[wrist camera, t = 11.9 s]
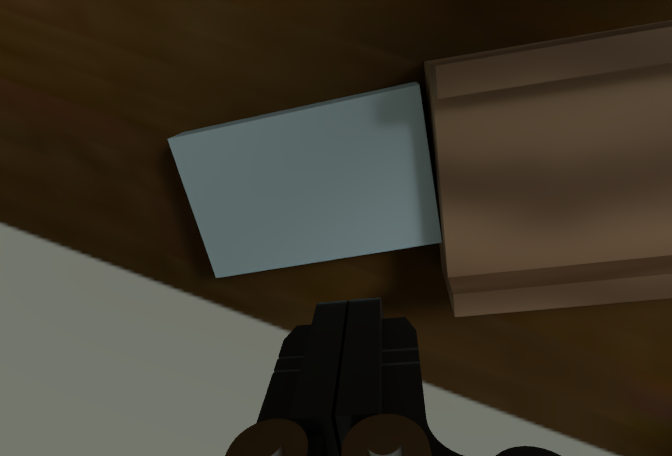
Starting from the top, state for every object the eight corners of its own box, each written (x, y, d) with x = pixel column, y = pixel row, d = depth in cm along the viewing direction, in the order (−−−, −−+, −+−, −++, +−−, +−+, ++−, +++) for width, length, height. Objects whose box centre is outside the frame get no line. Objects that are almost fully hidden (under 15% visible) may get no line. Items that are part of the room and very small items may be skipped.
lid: (187, 130, 24) (167, 139, 21) (415, 80, 22) (419, 84, 19) (229, 258, 26) (216, 278, 24) (436, 224, 24) (442, 242, 22)
